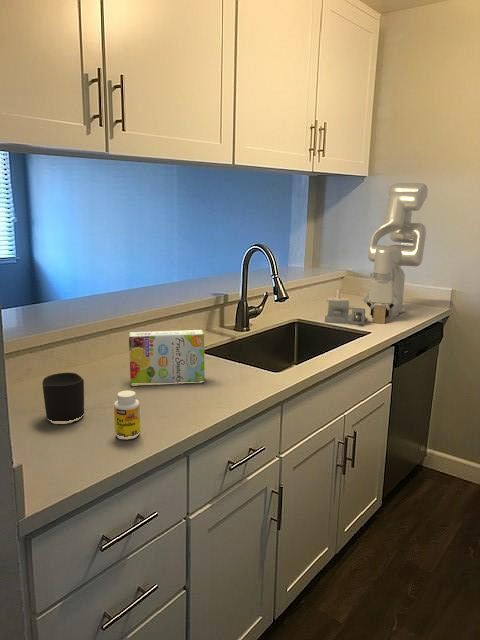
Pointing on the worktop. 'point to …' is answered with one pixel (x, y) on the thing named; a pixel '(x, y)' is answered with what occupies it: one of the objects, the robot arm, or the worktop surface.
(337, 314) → the bracket
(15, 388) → the worktop surface
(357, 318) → the lock pin
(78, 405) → the pen holder
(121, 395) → the supplement bottle
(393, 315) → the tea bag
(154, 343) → the snack box
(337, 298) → the pipe connector
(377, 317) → the block
